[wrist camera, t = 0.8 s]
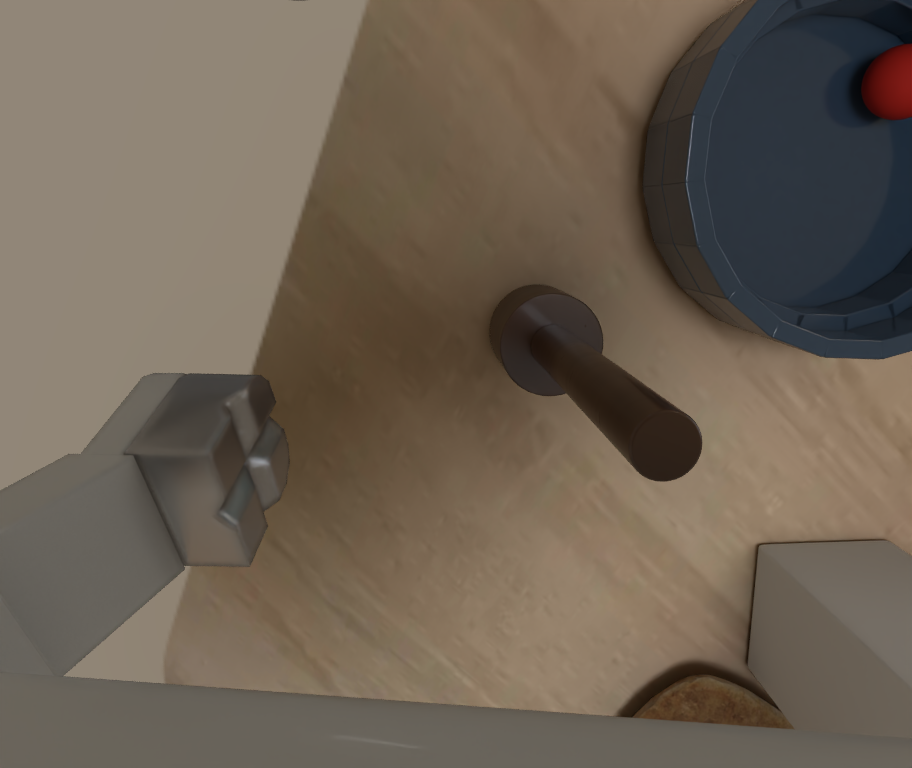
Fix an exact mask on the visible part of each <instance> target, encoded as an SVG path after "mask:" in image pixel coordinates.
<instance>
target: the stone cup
mask: <svg viewBox="0 0 912 768" xmlns="http://www.w3.org/2000/svg"><path fill="white" fill-rule="evenodd" d="M632 718H643V719H656V720H670V721H684V722H697V723H711V724H725V725H739V726H752V727H766V728H780V729H794V727H793V726H792V725H791V724H790V722H789V721H788V720H787V718H786V717H785V716H784V714H783V713H782V712H781V710H779V709H777V708H776V707H774V706H773V705H771V704H770V703H768V702H766V701H765V700H763V699H762V698H760V697H758V696H757V695H755V694H753V693H752V692H750V691H748V690H747V689H745V688H743V687H741V686H739V685H737V684H734V683H732V682H729V681H727V680H725V679H722V678H719V677H715V676H712V675H693V676H689V677H686V678H684V679H681V680H679V681H676V682H675V683H673V684H672V685H670V686H669V687H668V688H666V689H665V690H663V691H662V692H660V693H659V694H657V695H655V696H654V697H653V698H652V699H650V700H649V701H648V702H647V703H646V704H645V705H644V706H643V707H642V708H641V709H640V710H639V711H637V713H636V714H635V715H634V716H633V717H632ZM794 730H795V729H794Z"/></svg>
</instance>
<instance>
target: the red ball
mask: <svg viewBox="0 0 912 768" xmlns="http://www.w3.org/2000/svg"><path fill="white" fill-rule="evenodd" d="M861 93H862V98H863V101H864V103H865V105H866V107H867V108H868V109H869V110H870V111H871V112H872V113H873V114H875V115H876V116H878V117H880V118H883V119H888V120H902V119H906V118H910V117H912V44H903V45H898V46H895V47H893V48H890V49H888V50H886V51H885V52H883V53H882V54H880V55H879V56H878V57H877V58H876V59H875V60H874V61H873V62H872V63H871V64H870V65H869V67H868V69H867V70H866V72H865V74H864V77H863V80H862V86H861Z"/></svg>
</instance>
